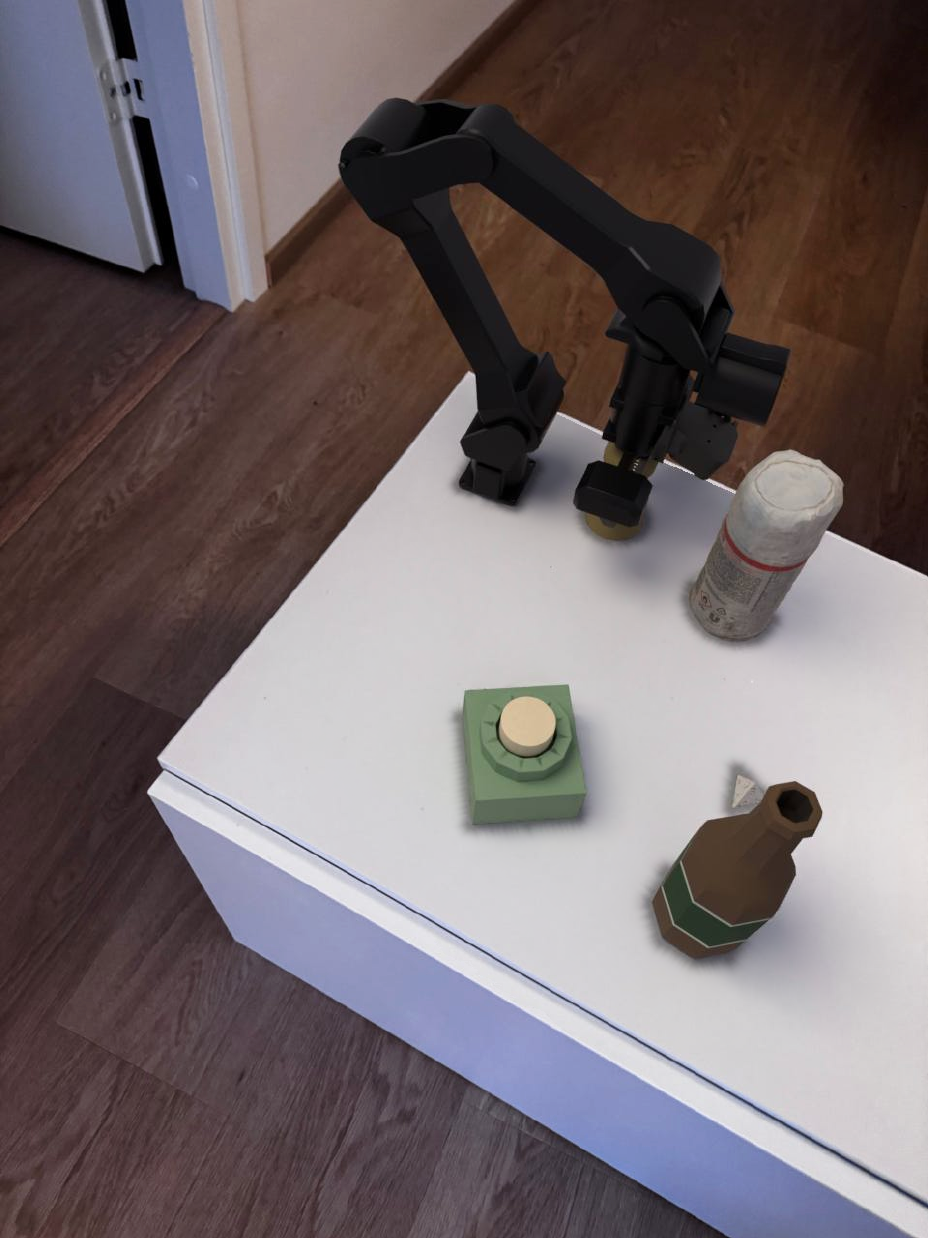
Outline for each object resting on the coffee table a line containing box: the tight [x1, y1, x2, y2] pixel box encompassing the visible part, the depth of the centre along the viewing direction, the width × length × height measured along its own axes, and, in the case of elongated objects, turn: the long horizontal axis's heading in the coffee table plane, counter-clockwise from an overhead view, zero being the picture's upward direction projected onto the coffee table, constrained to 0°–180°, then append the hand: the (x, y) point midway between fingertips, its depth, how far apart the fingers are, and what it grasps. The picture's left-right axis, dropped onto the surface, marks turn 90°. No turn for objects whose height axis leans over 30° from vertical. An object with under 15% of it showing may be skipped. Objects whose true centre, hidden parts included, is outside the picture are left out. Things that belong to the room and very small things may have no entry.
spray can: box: [688, 449, 845, 642], centre depth 86 cm, size 8×8×20 cm
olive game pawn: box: [584, 441, 659, 542], centre depth 96 cm, size 6×6×11 cm
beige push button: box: [499, 697, 556, 757], centre depth 78 cm, size 4×4×2 cm
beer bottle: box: [651, 780, 824, 960], centre depth 69 cm, size 8×8×24 cm
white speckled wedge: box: [732, 774, 765, 809], centre depth 84 cm, size 4×3×3 cm
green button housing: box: [461, 684, 587, 825], centre depth 82 cm, size 10×9×8 cm
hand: (621, 497), depth 97 cm, fingers closed on olive game pawn, 8 cm apart
